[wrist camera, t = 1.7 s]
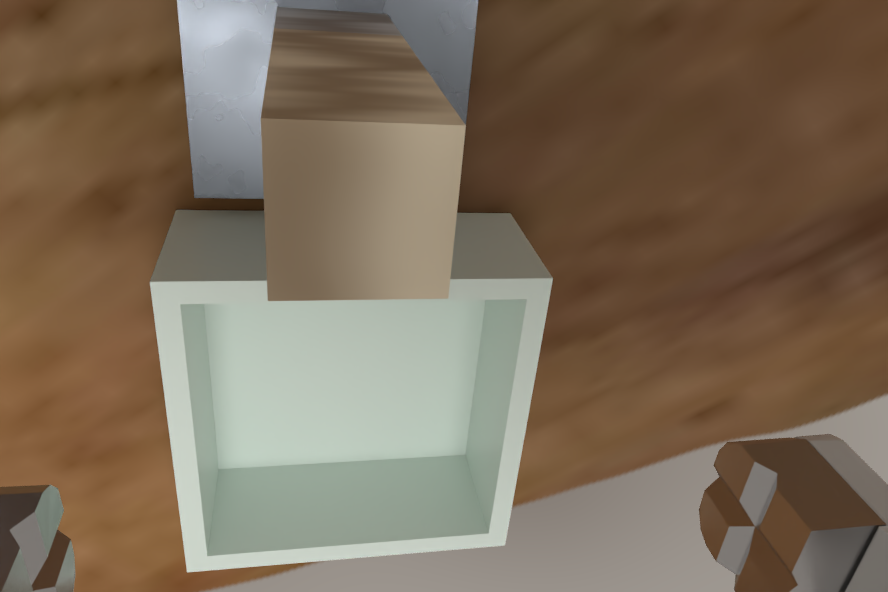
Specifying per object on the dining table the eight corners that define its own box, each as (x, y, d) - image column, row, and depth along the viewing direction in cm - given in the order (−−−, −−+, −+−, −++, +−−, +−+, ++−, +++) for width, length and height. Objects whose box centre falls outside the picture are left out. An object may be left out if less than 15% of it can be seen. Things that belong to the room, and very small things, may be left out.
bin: (510, 213, 36) (552, 278, 30) (476, 455, 44) (504, 545, 38) (176, 209, 33) (149, 281, 27) (203, 471, 41) (187, 572, 35)
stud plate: (481, -83, 29) (510, -78, 25) (454, 193, 35) (474, 233, 31) (171, -112, 27) (149, -111, 23) (197, 189, 33) (183, 232, 29)
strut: (386, 13, 29) (466, 125, 16) (382, 119, 32) (448, 298, 18) (277, 6, 29) (260, 118, 15) (279, 116, 31) (267, 301, 17)
